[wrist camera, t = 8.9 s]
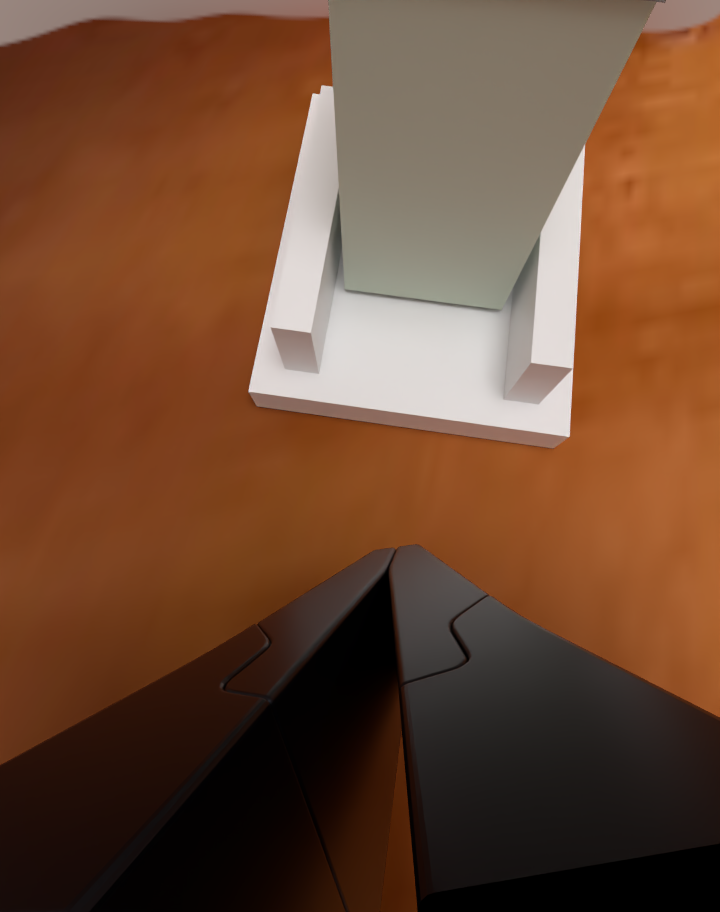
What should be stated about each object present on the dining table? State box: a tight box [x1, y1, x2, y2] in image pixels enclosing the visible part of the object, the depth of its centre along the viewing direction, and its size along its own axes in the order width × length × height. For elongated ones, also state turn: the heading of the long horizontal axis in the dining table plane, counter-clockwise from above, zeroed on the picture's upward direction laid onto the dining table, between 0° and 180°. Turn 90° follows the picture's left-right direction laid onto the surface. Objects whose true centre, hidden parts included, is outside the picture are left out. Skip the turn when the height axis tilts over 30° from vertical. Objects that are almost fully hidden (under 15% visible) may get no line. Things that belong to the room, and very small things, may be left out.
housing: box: [248, 86, 585, 449], centre depth 19 cm, size 13×11×4 cm
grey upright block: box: [328, 0, 666, 310], centre depth 14 cm, size 5×6×11 cm
